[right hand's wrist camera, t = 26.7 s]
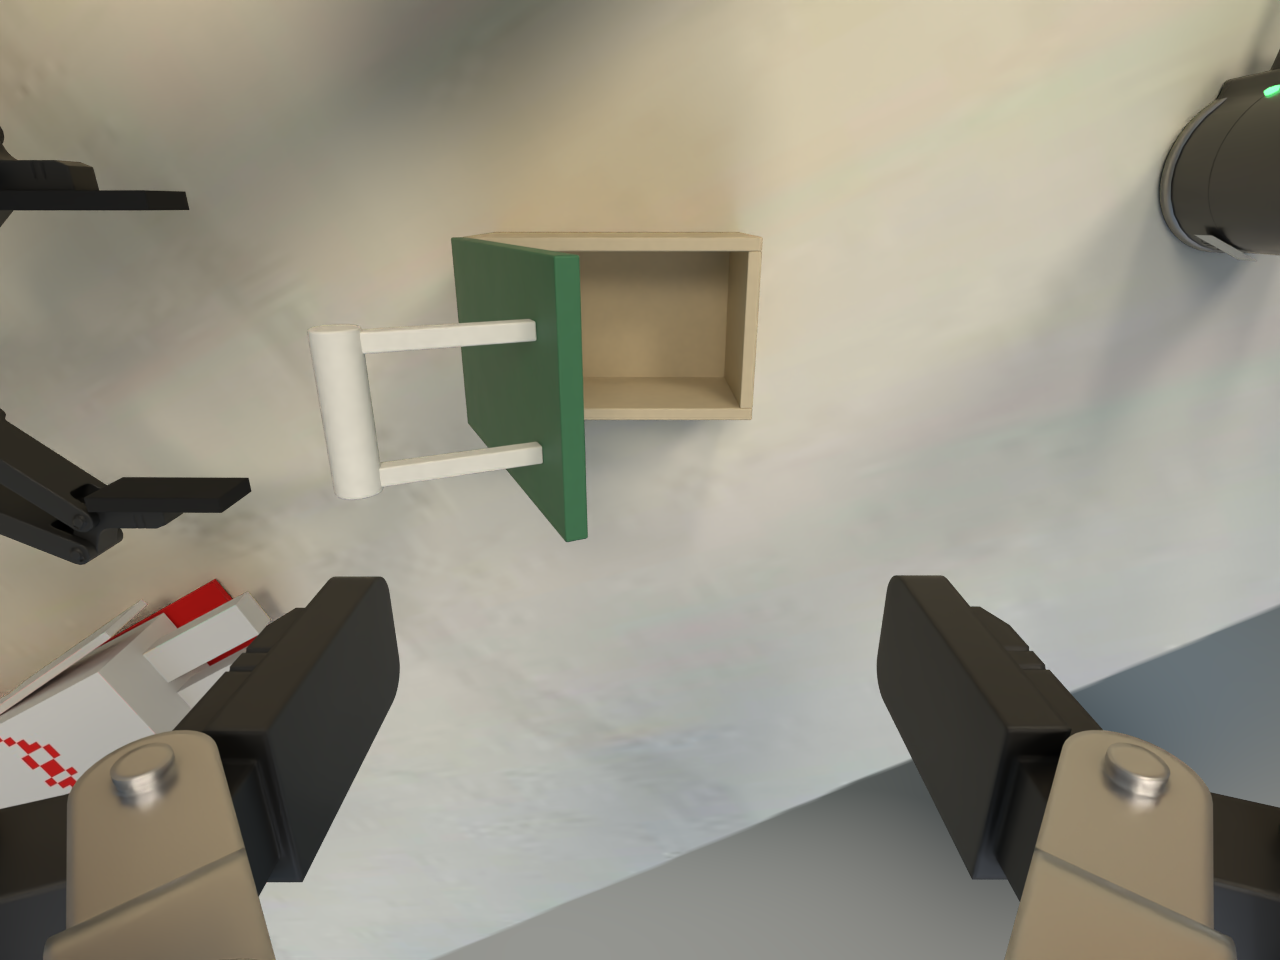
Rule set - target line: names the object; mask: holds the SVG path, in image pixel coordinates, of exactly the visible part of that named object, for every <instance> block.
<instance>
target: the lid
mask: <svg viewBox="0 0 1280 960" xmlns="http://www.w3.org/2000/svg"><path fill="white" fill-rule="evenodd" d="M451 243H452V254H453V265H454V276H455V287H456V297H457V308H458V319H459V323H456V324H440V325H424V326H408V327H392V328H376V329H361V328H360V326H357V325H351V324H333V325H322V326H316V327H312V328H310V329H308V331H307V333H308V339H309V345H310V351H311V357H312V363H313V369H314V375H315V381H316V386H317V392H318V398H319V404H320V410H321V416H322V422H323V428H324V434H325V439H326V445H327V451H328V457H329V463H330V469H331V475H332V481H333V487H334V492H335V495H336V496H337V497H338V498H341V499H348V500H354V499H363V498H368V497H371V496H374V495H376V494H378V493H380V492H381V491H382V490H383V487H386V486H393V485H399V484H406V483H413V482H420V481H426V480H433V479H440V478H447V477H453V476H460V475H467V474H474V473H481V472H487V471H494V470H501V469H506V470H507V471H508V472H509V473H510V475H511V476H512V477H513V478H514V479H515V481H516V482H517V483H518V484H519V485H520V487H521V488H522V489H523V490H524V492H525V493H526V494H527V495H528V496H529V498H530V499H531V500H532V501H533V502H534V504H535V505H536V506H537V507H538V509H539V510H540V511H541V512H542V513H543V515H544V516H545V517H546V518H547V519H548V521H549V522H550V523H551V524H552V526H553V527H554V528H555V529H556V530H557V532H558V533H559V534H560V535H561V536H562V538H563V539H564V540H565V541H566V542H570V541H575V540H581V539H586V538H587V537H588V532H587V498H586V464H585V430H584V396H583V362H582V328H581V294H580V260H579V255H575V254H569V253H563V252H556V251H550V250H544V249H537V248H531V247H525V246H518V245H512V244H506V243H499V242H493V241H486V240H480V239H474V238H467V237H457V238H451ZM451 347H461V352H462V363H463V374H464V385H465V395H466V406H467V417H468V424H469V425H470V426H471V427H472V428H473V430H474V431H475V432H476V433H477V435H478V436H479V437H480V438H481V439H482V441H483V442H484V443H485V444H486V445H487V447H488V448H485V449H478V450H470V451H463V452H455V453H448V454H441V455H433V456H426V457H418V458H411V459H403V460H396V461H389V462H381V463H380V459H379V452H378V444H377V437H376V430H375V423H374V416H373V409H372V402H371V395H370V388H369V381H368V374H367V367H366V360H365V354H371V353H385V352H398V351H411V350H424V349H437V348H451Z"/></svg>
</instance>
